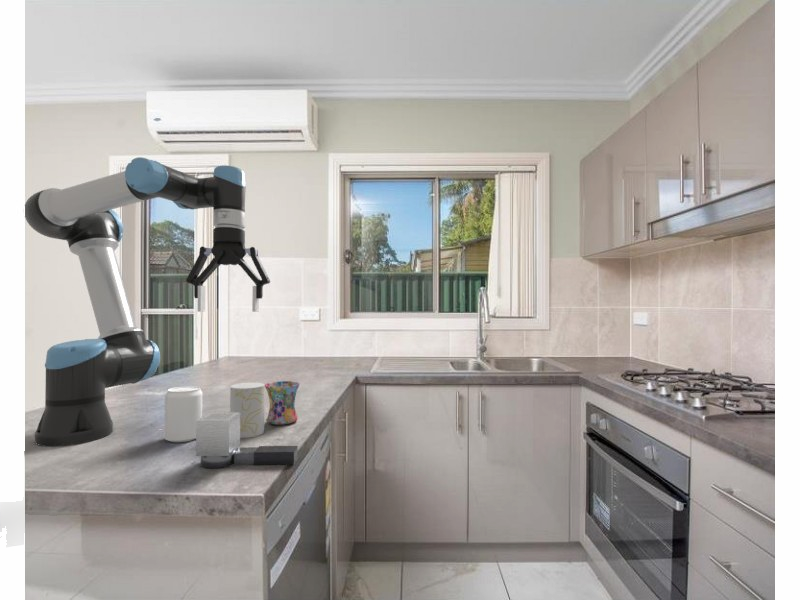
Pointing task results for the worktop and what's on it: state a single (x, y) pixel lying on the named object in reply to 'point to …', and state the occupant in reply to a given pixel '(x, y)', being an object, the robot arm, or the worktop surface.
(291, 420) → the mug
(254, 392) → the cup
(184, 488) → the worktop surface
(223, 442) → the brushed cube with inset
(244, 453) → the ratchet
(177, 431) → the beverage can
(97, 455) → the worktop surface
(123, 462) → the worktop surface
